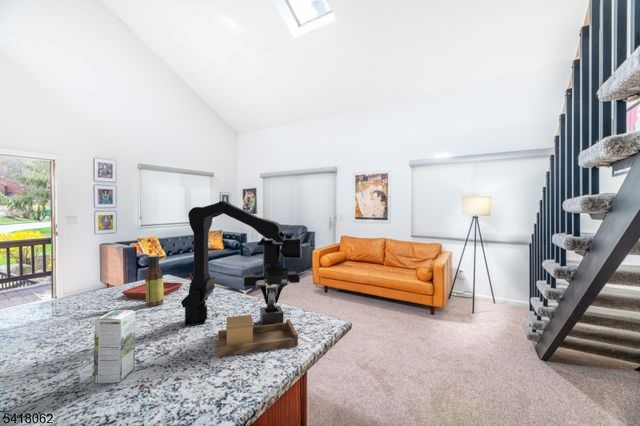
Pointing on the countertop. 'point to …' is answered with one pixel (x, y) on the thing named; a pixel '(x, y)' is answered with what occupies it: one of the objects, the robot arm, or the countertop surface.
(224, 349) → the bay
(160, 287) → the sauce bottle
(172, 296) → the countertop surface
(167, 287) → the plant saucer
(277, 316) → the square hollow tube
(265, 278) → the robot arm
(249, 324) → the tan cardboard box
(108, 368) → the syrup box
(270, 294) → the rounded metal peg
